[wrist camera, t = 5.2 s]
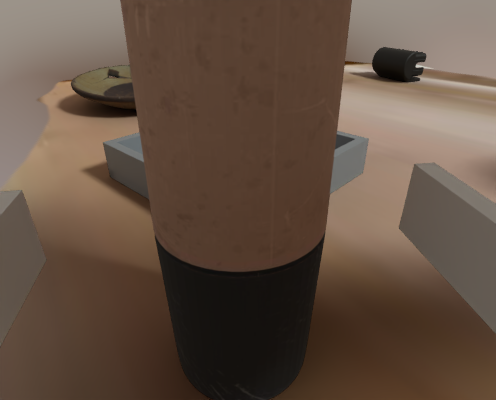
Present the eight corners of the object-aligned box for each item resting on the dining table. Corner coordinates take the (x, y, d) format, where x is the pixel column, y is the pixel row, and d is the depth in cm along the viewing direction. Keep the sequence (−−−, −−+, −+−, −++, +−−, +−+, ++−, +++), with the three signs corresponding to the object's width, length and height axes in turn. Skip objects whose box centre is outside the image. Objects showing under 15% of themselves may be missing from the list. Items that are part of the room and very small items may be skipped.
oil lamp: (184, 85, 81) (181, 49, 78) (228, 123, 57) (226, 72, 53) (77, 94, 74) (68, 54, 70) (75, 142, 50) (61, 85, 46)
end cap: (369, 76, 90) (374, 47, 87) (390, 74, 93) (395, 46, 90) (400, 84, 82) (406, 52, 79) (422, 81, 85) (429, 50, 82)
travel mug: (189, 293, 24) (148, -82, 14) (304, 299, 24) (344, -85, 14) (157, 406, 17) (37, -150, 8) (316, 417, 17) (408, -160, 7)
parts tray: (236, 133, 53) (236, 105, 51) (362, 172, 41) (368, 138, 39) (110, 176, 40) (102, 142, 38) (239, 252, 28) (239, 208, 26)
